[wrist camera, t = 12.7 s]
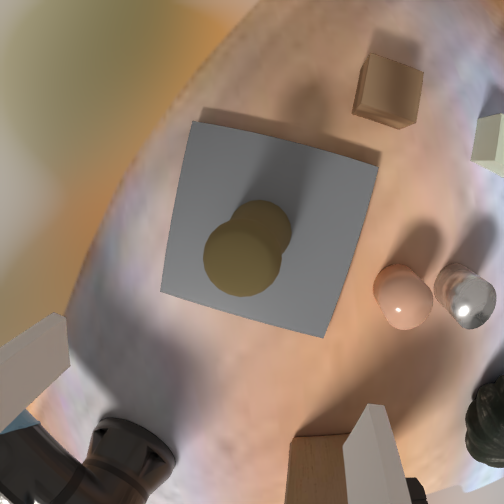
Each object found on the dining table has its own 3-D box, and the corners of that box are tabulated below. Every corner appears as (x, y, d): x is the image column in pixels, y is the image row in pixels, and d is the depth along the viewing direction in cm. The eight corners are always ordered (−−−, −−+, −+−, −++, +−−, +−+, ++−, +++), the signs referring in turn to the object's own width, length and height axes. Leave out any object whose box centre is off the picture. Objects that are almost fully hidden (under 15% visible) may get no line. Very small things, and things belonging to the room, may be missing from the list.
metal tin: (427, 300, 30) (448, 324, 25) (443, 258, 29) (468, 275, 23) (460, 309, 30) (483, 332, 24) (476, 269, 29) (503, 287, 23)
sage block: (470, 160, 26) (494, 160, 21) (477, 118, 25) (501, 113, 20) (501, 177, 26) (527, 180, 21) (508, 137, 24) (533, 134, 20)
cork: (298, 254, 30) (298, 299, 19) (238, 269, 31) (207, 318, 20) (281, 192, 29) (271, 203, 18) (220, 209, 30) (177, 230, 19)
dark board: (165, 286, 34) (160, 291, 33) (197, 123, 29) (192, 120, 28) (322, 331, 33) (323, 338, 32) (374, 167, 28) (378, 167, 27)
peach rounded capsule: (366, 302, 32) (376, 323, 27) (382, 258, 30) (396, 273, 25) (406, 312, 31) (420, 334, 26) (422, 270, 30) (440, 287, 25)
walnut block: (351, 114, 27) (361, 103, 22) (360, 69, 26) (370, 52, 21) (398, 129, 27) (415, 122, 22) (406, 85, 25) (423, 72, 21)
